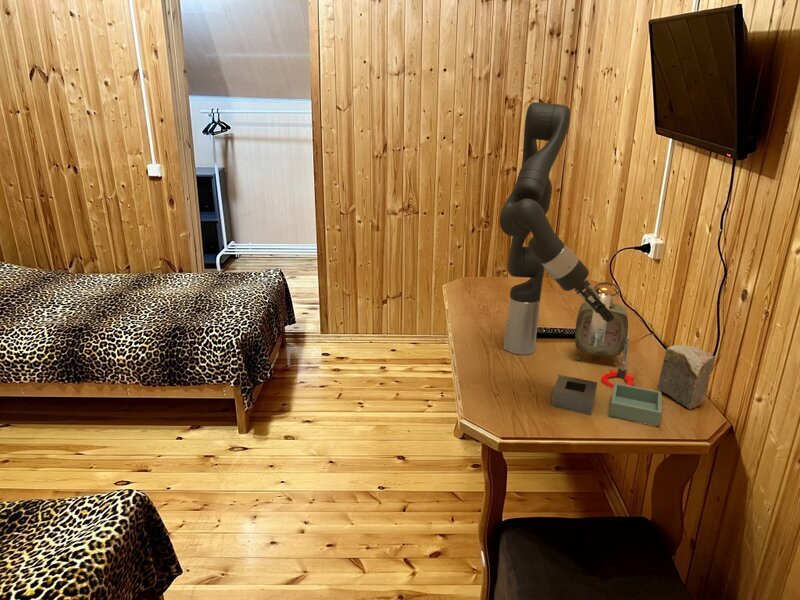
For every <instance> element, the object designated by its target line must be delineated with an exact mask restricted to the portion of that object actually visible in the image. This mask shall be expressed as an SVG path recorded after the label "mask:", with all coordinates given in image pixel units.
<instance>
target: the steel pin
mask: <svg viewBox="0 0 800 600" xmlns="http://www.w3.org/2000/svg"><path fill="white" fill-rule="evenodd" d="M596 293H597V294H598V295H599V296H600V300H601V301H602V303H603V304H605V306H606V308H607V309H608V310H609V305H610V299H612V296H611V294H613V287H612V286H611V285H608V284H602V285H598V286H597V287H596ZM599 305H600V304H599ZM599 305H598V306H599ZM598 306H597V307H598ZM606 324H607V322H606V321H605V320H604V319H603V318H602V316H601V315H600V314H599V313H596V312H595V310H594V309H593V314H592V321H591V327H590V334H589V340H588V344H590V345H592V346H596V347H600V346H603V342H604V336H605V330H606Z"/></svg>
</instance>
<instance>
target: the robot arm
mask: <svg viewBox="0 0 800 600" xmlns="http://www.w3.org/2000/svg"><path fill="white" fill-rule="evenodd" d="M570 123H571V109H570V107H569V106H567V105H564V104H559V103H550V102H539V101H535V102H531V103H530V104H529V105H528V107H527V110H526V114H525V120H524V129H523V130H524V131H523V146H522V147H523V148H522V159H521V168H520V170H519V172H518V175H517V178H516V181H515V185H514V189H513V190H512V192H511V193H510V195H509V196H508V198H507V200H506V201H505V202H504V205H503V207H502V208H501V211H500V214H499V226H500V229H501V231H502V232H503V233H504V234H505V235H507V236H509V237H511V242H510V249H509V251H508V252H509V253H508V259H507V271H508V274H509V275H510V276H512V277H516V278H529V279H528V280H527V281H525V282H522V283H519V284H516V285H513V286H512V287H510V292H509V300H508V301H509V302H508V313H507V319H506V321H505V329H504V339H503V350H504V351H508V352H509V353H511V354H513V355H514V354H515V355H523V356H524V355H525V356H526V355H531V354H533V353H534V352H535V350H536V349H535V348H536V340H537V333H538V332H537V331H538V322H539V315H540V308H541V307H540V305H541V296H542V289H543V288H542V287H543V281H544V276H545V271H546V272H547V273H548V274H549V275H550V276H551V278H552V279H553V280H554V281H555V282H556V284H558V286H559V287H561V289H562V290H563V291H565V292H567V291H568V292H569V291H572V290H573V291H575V293H576V295H577V296H578V297H579V298H580V299H582V300H583V301H584V302H586V303H587V305H588V306H591V307H592V308H593V309H594V310H595V312H596V313H599V314H600V315H601V316H602V318H603V319H604V320H605V321H606V322H609V321H611V320H612V319H613V318H614V316H613V315H612V313H611V312H610V311H609V310H608V309H607V308H606V306H605V304H603V303H602V301H601V300H600V296H599V295H598V294H597V293H596V291H595V289H594V288H595V287H594V286H593V285H592V284H591V282H590V281H589V280H588V277H589V275H590V271H589V269H588V267H587V266H586V265H585V264H584V263H583V261H581V259H579V257H578V256H577V255H576V254H575V253H574V252H573V251H572V249H571V248H569V247H568V246H567V245H566V244H565V243H564V242H563V240H561V238H559V236H558V235H557V234H556V233H555V232H554V230H553V227H552V225H551V223H550V221H549V219H548V217H547V214H548V212H549V209H550V205H551V199H552V191H553V185H552V181H551V179H550V173H551V170H552V167H553V165H554V163H555V161H556V160H557V157H558V155H559V153H560V151H561V148H562V147H563V144H564V141H565V139H566V138H567V134H568V131H569V127H570ZM537 140H538V141H546V142H547V143H546V144H544V146H543V147H541V149H539V150H538V145H537V144H538V143H537V142H538V141H537ZM530 233H531V235H532V237H531V238H530V239H529V241H528V244H527V246H524V245H525V242H526V239H527V238H528V236H529V235H530ZM599 304H600V305H599ZM598 305H599V306H598ZM597 306H598V307H597Z"/></svg>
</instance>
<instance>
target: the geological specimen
mask: <svg viewBox="0 0 800 600" xmlns="http://www.w3.org/2000/svg"><path fill="white" fill-rule="evenodd" d="M663 357H664V358H663V362H662V366H661V370H660V374H659V378H658V382H657V389H659V391H660V392H661V393H664V394H667V395H668V396H670V397H671V399H673V400H675V401H676V402H677V403H679V404H681V405H683V406H684V407H686V408H687V409H689V410H691V409H693V408H696V407H699V406H701V405H702V404H704V402H705V398H706V394H707V390H708V386H709V385H708V384H709V382H710V379H711V376H710V374H712V371H713V367H714V363H715V360H716V356H714V355H713V353H711V352H709V351H706V350H703V348H701V347H696V346H694V345H689V346H688V345H684V344H678V345H670V346H669V347H666V350H665V355H664V356H663Z"/></svg>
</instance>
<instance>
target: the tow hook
mask: <svg viewBox="0 0 800 600" xmlns="http://www.w3.org/2000/svg"><path fill="white" fill-rule="evenodd" d="M629 339H630V337H629V336H627V337H626V342H625V343H624V349H623V351H622V356H621V360H620V364H619V365H620V366H619V368H618V369H617V370H613V369H610V370H609V372H608V373H605V374H603V375H602V376H601V382H603V383H604V384H605V385H604V386H606V385H607V386H606V387H608V386H610V387H613V388H614V383H612V382H610V381H609V379H612V378H620V377H621V379H623V380H624V381H625V382H626V383H625V384H624V385H629V386H634V379H635V375H631V374H628V373H627V372H628V369H627V365H628V361H627V358H628V352H629V348H630V347H629V345H630V343H629ZM617 376H618V377H617ZM603 383H602V384H603ZM610 387H609V388H610ZM613 388H612V389H613Z"/></svg>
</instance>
